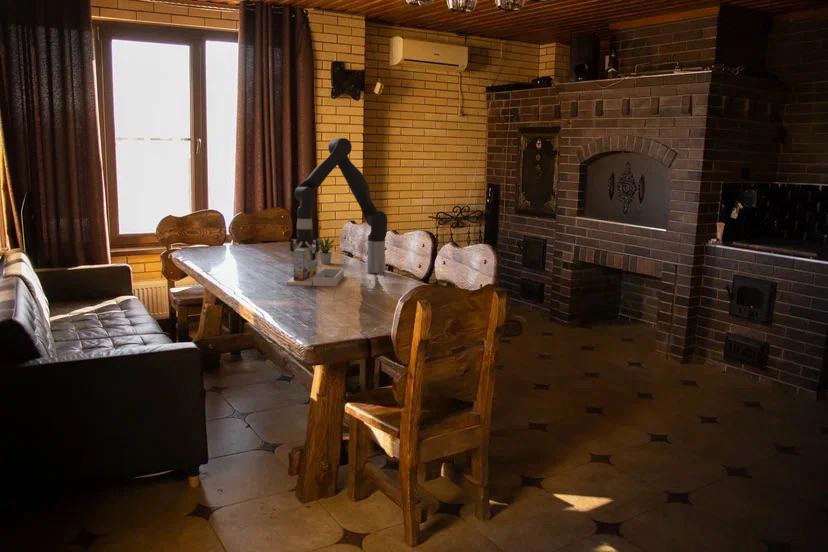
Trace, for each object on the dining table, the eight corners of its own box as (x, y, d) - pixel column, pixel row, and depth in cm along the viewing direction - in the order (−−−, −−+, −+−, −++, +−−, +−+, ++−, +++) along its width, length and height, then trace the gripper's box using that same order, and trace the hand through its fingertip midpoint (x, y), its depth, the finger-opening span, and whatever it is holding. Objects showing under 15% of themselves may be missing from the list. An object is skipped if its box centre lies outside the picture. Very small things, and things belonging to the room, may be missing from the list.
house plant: (340, 265, 392) (340, 236, 389) (316, 266, 388) (315, 237, 386) (337, 261, 405) (337, 233, 402) (313, 262, 402) (313, 233, 399)
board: (322, 275, 359) (322, 273, 359) (311, 285, 334) (311, 282, 334) (299, 275, 360) (299, 272, 360) (287, 284, 335) (286, 281, 334)
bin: (343, 276, 359) (343, 268, 358) (335, 286, 333) (335, 278, 332) (323, 275, 359) (323, 268, 359) (313, 285, 334) (313, 277, 333)
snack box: (304, 281, 336) (303, 250, 333) (293, 280, 337) (292, 249, 334) (317, 273, 356) (317, 244, 354) (307, 273, 357) (307, 244, 355)
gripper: (320, 227, 345) (320, 259, 348) (292, 226, 346) (292, 258, 349) (317, 228, 338) (317, 261, 341) (288, 228, 339) (288, 261, 342)
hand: (304, 260), depth 345 cm, fingers open, 8 cm apart
